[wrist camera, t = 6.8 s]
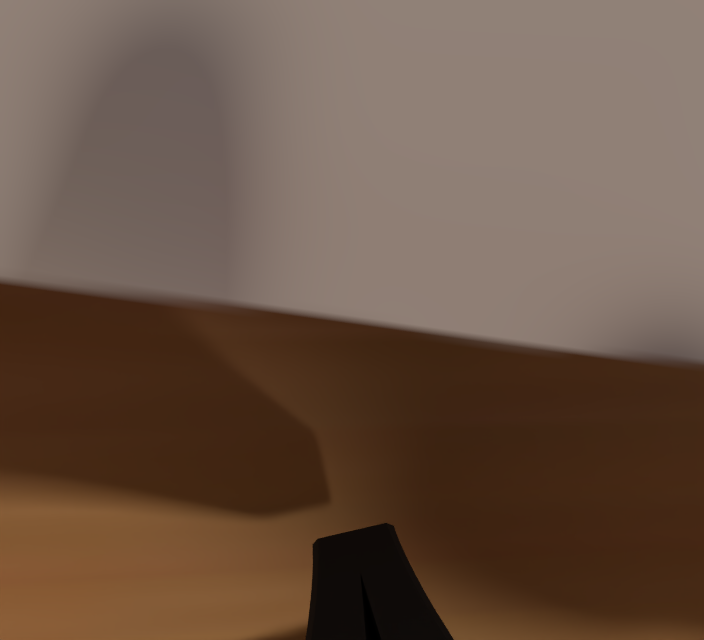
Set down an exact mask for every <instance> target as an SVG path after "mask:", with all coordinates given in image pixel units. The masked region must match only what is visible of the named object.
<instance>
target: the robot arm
mask: <svg viewBox="0 0 704 640" xmlns="http://www.w3.org/2000/svg"><path fill="white" fill-rule="evenodd" d="M306 640H454V639H453V638H452V636H451V634H450V633H449V631H448V630H447V628H446V626H445V625H444V623H443V622H442V620H441V619H440V617H439V615H438V614H437V612H436V611H435V609H434V607H433V605H432V604H431V602H430V600H429V599H428V597H427V595H426V593H425V592H424V590H423V588H422V586H421V584H420V582H419V581H418V579H417V577H416V575H415V573H414V571H413V569H412V567H411V565H410V563H409V561H408V559H407V557H406V555H405V553H404V551H403V549H402V546H401V544H400V542H399V539H398V537H397V534H396V531H395V528H394V526H393V525H391V524H388V523H384V524H380V525H375V526H371V527H367V528H362V529H358V530H354V531H349V532H345V533H341V534H337V535H332V536H328V537H324V538H319V539H317V540H316V541H315V543H314V544H313V576H312V591H311V601H310V610H309V619H308V627H307V633H306Z"/></svg>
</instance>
